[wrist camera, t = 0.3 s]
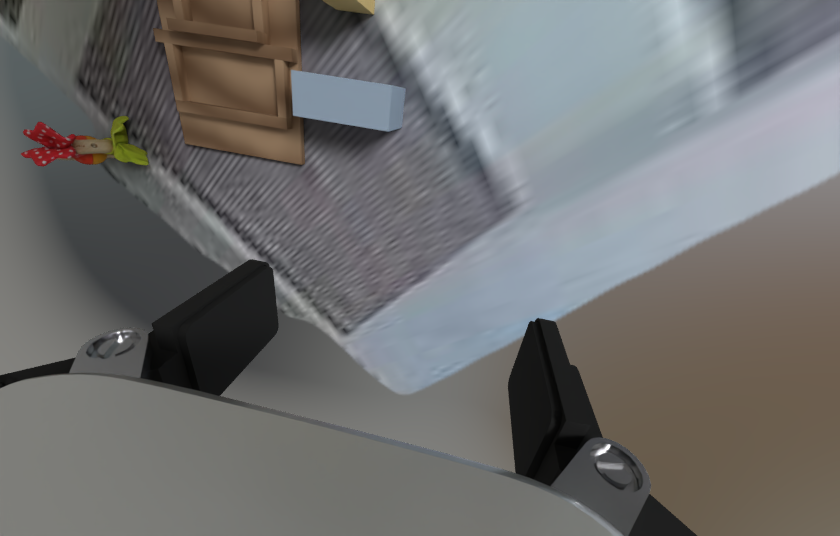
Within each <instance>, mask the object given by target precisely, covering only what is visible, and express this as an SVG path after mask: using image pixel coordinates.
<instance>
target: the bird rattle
mask: <svg viewBox="0 0 840 536" xmlns="http://www.w3.org/2000/svg"><path fill="white" fill-rule="evenodd" d="M128 119H129V118H128V117H126V116H120V117H118V118H116V119H115V120H114V121H113V125H112V129H111V138H104V139H102V140H101V139H96V138H93V137H90V136H75V135H74V134H71V135H69V136H68V137H63V136H61V135H60V134H59V133H57V132H56V131H54V130H53V129H51V128H50V127H49V126H47V125H46V124H44V123H42V122H38V123H37V124H36V126H35V129H34V130H33V131H32V130H28V129H27V130H24V131H23V133H24V135H25V136H27V137H28V138H30V139H32V140H34V141H36V142H38V143H40V144H42V145H44V146H46V147H42V148H34V149H31V150H28V151H26V152H23V153H21V155H22V156H23V157H25V158H32V159H33V161H34V162H35V164H36V165H38V166H46V165H47V164H48V163H51V162H53V161H54V160H55V159H58V160H76V161H78V162H80V163H83V164H89V165H90V164H99V163H102V162H103V161H105V160H106V158H116V159H117V160H119V161H121V162H125V163H127V162H133V163H135V164H139V165H148V164H149V162H148V159H147V157H146V154H147V152H146V151H144V150H142V149H140V148H138V147H136V146H134V145H131V144H128V136H127V132H126V128H125V126H124V124H123V123H124V122H126V121H127V120H128Z"/></svg>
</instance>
